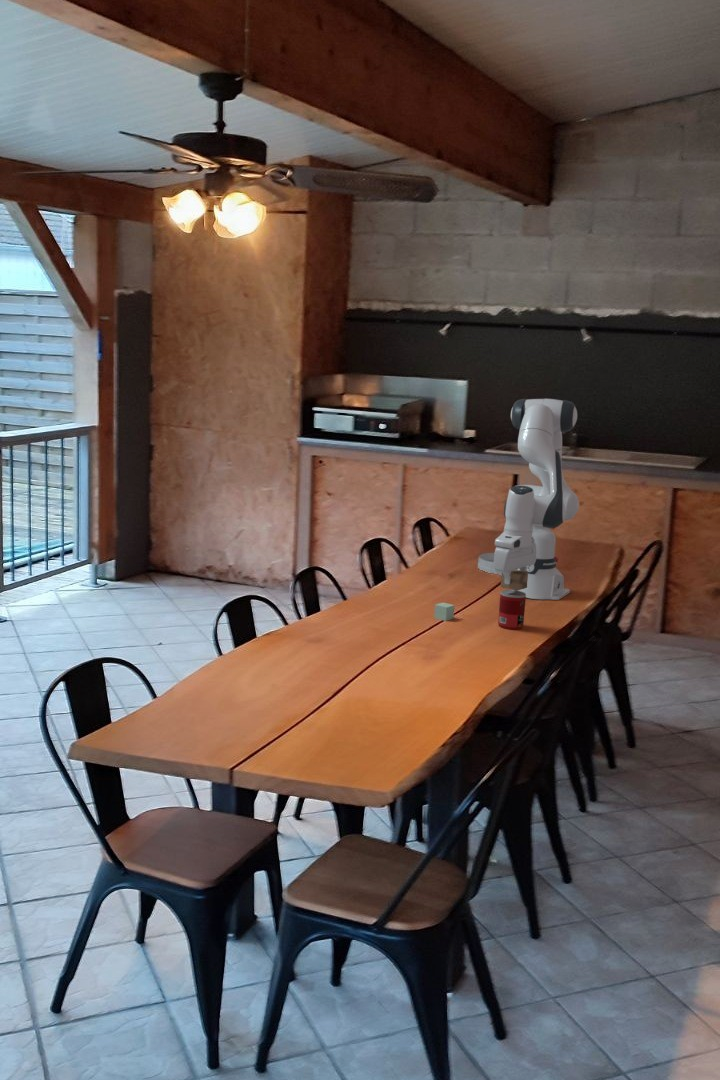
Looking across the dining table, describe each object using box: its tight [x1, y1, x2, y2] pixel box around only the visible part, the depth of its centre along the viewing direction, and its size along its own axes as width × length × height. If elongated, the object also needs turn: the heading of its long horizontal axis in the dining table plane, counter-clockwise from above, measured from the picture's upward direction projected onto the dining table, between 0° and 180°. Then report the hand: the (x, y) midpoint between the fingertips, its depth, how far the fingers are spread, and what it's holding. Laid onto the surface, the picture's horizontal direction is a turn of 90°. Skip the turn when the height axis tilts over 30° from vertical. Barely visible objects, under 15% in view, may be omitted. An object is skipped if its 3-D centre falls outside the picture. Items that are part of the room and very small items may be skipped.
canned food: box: [497, 589, 527, 631], centre depth 335 cm, size 8×8×11 cm
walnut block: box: [500, 570, 528, 591], centre depth 333 cm, size 6×6×5 cm
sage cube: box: [433, 602, 455, 622], centre depth 341 cm, size 4×4×4 cm
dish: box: [477, 552, 518, 576], centre depth 418 cm, size 22×22×5 cm
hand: (514, 582), depth 333 cm, fingers closed on walnut block, 6 cm apart
